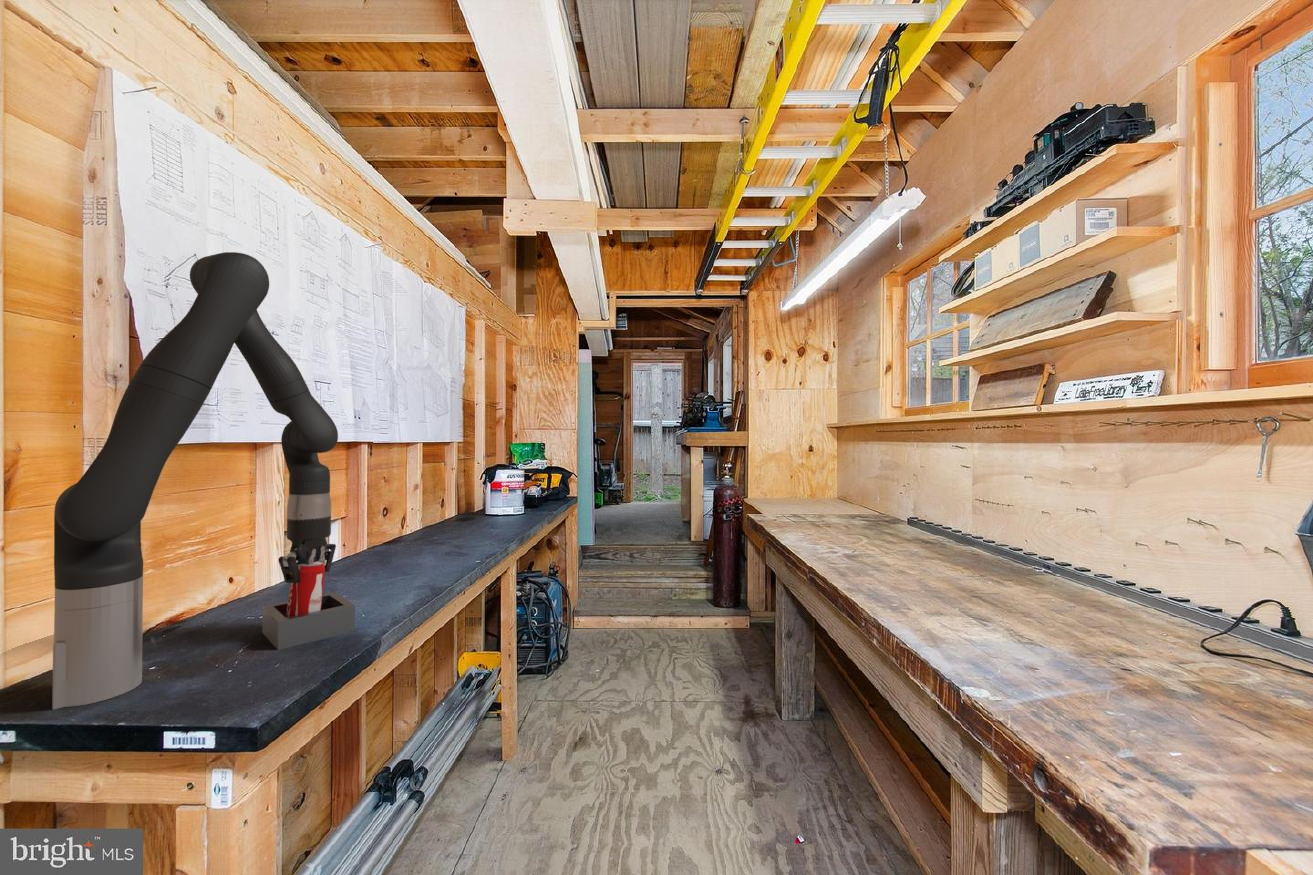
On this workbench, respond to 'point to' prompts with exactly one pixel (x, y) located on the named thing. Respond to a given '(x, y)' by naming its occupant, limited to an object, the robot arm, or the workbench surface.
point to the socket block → (308, 622)
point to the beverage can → (306, 590)
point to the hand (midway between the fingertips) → (308, 597)
